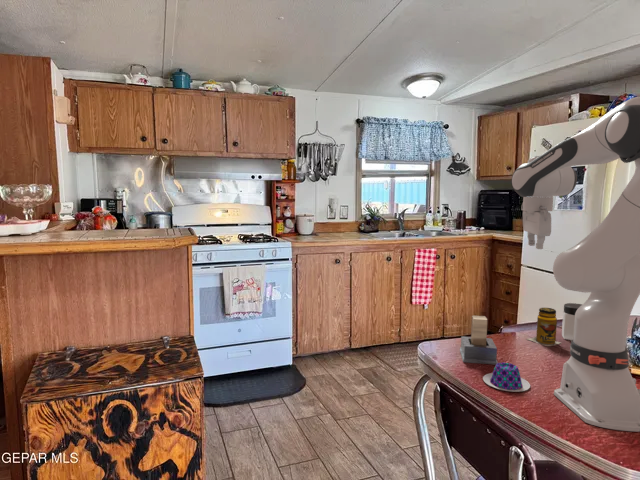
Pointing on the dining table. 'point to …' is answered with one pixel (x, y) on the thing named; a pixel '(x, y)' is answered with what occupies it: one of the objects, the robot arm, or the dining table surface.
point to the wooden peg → (479, 330)
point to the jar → (569, 320)
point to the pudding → (506, 378)
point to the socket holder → (478, 351)
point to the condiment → (546, 327)
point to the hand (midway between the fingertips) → (535, 247)
